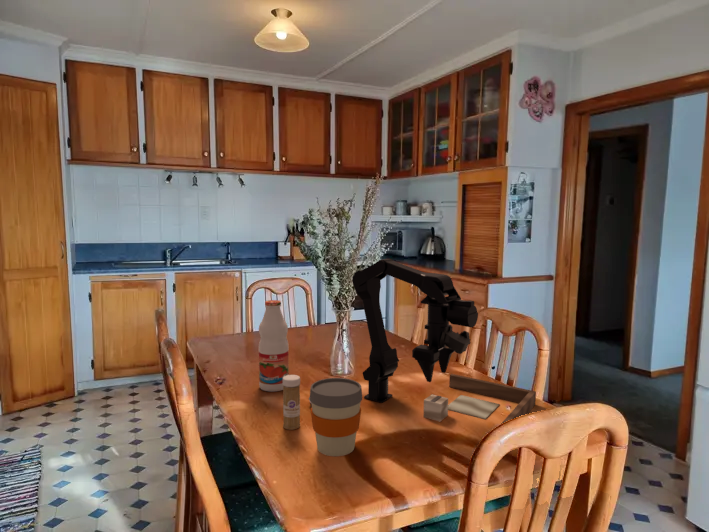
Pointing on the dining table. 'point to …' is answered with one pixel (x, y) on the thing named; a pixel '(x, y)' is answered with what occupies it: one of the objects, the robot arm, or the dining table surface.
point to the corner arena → (490, 389)
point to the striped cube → (435, 407)
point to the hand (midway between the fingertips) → (436, 377)
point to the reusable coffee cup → (335, 414)
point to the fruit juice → (273, 348)
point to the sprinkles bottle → (291, 402)
